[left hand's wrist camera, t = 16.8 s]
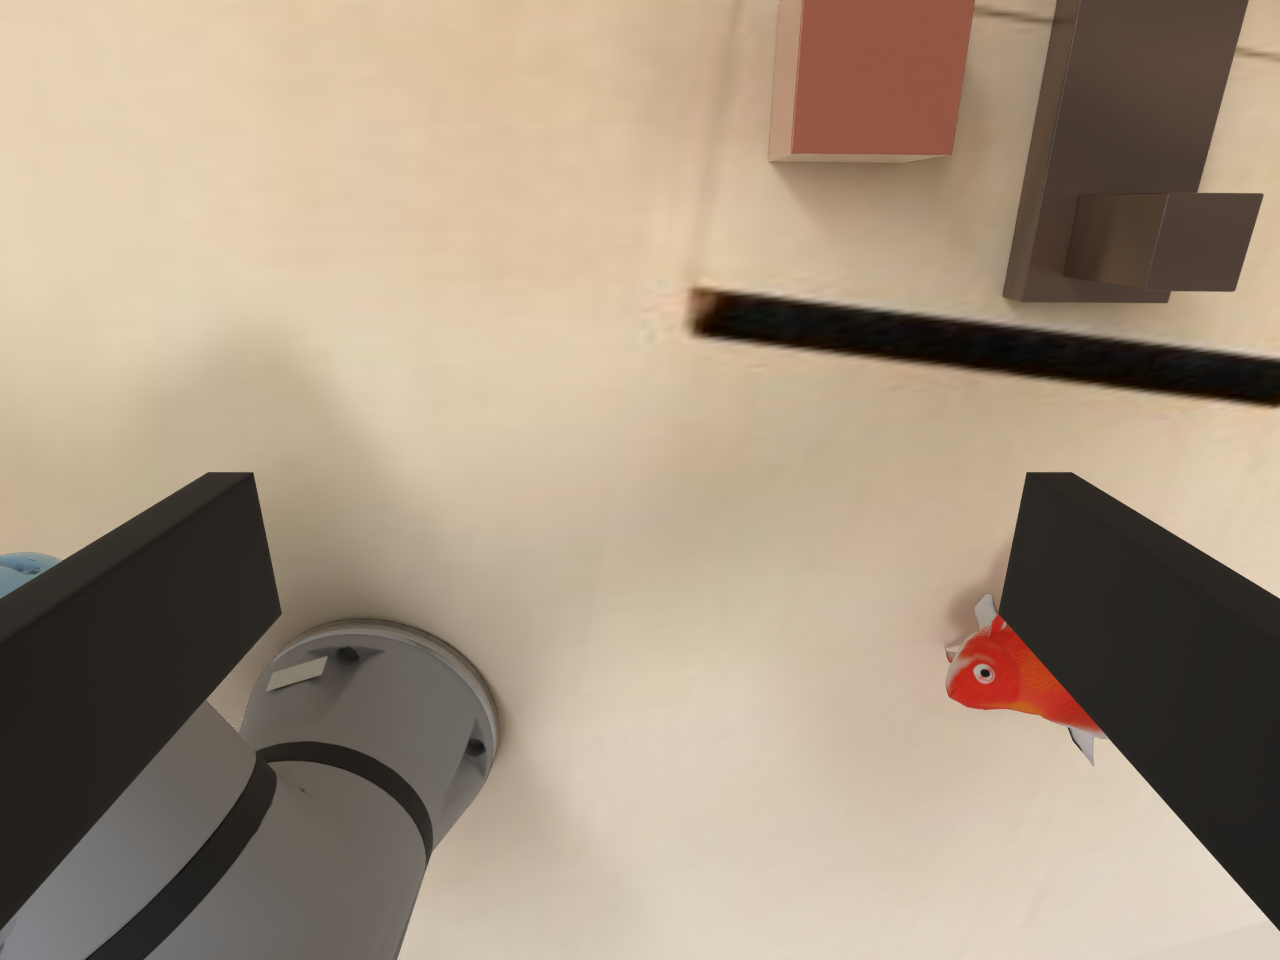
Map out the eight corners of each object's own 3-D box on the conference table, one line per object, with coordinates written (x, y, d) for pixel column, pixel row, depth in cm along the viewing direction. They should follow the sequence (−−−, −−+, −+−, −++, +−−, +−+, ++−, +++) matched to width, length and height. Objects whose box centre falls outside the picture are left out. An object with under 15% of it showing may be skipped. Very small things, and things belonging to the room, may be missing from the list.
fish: (990, 517, 35) (1145, 699, 29) (1169, 514, 42) (1326, 660, 36) (875, 642, 42) (981, 813, 36) (1046, 622, 49) (1160, 761, 43)
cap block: (903, 162, 34) (952, 155, 28) (767, 161, 34) (790, 153, 29) (923, 4, 32) (981, -38, 26) (778, 3, 32) (805, -39, 26)
